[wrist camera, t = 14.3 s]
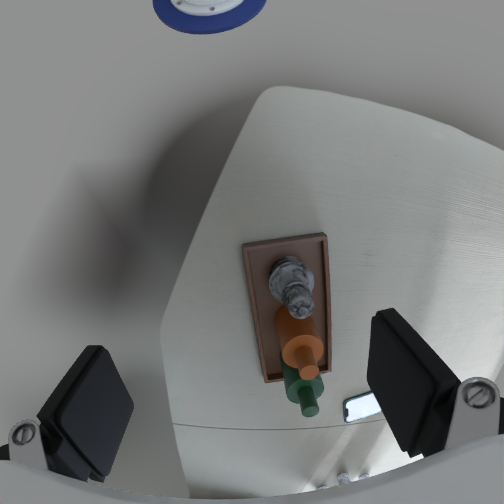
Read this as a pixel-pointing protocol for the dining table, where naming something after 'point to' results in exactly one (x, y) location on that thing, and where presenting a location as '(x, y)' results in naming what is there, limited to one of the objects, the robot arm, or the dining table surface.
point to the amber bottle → (299, 343)
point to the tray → (266, 306)
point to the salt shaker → (292, 285)
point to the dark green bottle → (302, 389)
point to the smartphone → (360, 407)
